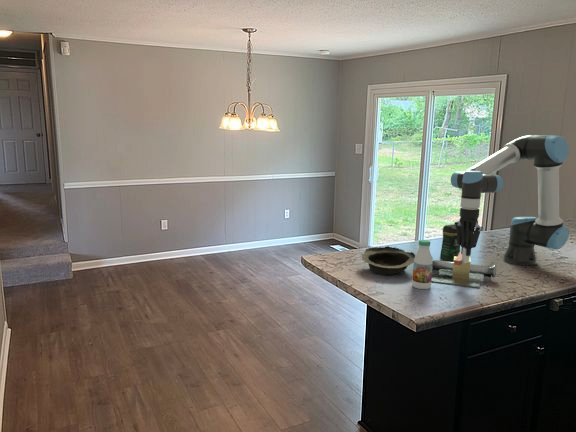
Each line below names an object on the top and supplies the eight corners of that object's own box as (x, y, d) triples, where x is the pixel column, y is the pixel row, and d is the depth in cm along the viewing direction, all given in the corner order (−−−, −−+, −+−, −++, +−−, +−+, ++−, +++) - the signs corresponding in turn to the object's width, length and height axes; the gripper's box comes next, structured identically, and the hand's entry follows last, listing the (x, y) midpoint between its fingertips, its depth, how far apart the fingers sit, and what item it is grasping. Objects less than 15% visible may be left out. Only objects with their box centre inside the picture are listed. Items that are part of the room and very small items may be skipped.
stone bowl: (399, 261, 233) (401, 244, 231) (423, 281, 210) (426, 262, 207) (352, 263, 228) (354, 245, 226) (372, 283, 204) (374, 263, 202)
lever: (458, 257, 212) (459, 251, 211) (467, 258, 210) (467, 252, 210) (452, 265, 198) (453, 259, 198) (461, 267, 197) (462, 261, 196)
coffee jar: (450, 263, 232) (453, 227, 229) (437, 259, 239) (440, 224, 235) (462, 260, 237) (465, 225, 234) (449, 257, 244) (452, 222, 240)
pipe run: (493, 275, 214) (495, 257, 213) (495, 290, 194) (497, 270, 193) (421, 266, 226) (423, 249, 224) (416, 280, 206) (417, 261, 204)
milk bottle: (409, 283, 201) (412, 238, 197) (426, 283, 202) (430, 238, 198) (415, 289, 193) (419, 243, 190) (433, 289, 194) (437, 243, 190)
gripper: (489, 209, 190) (483, 265, 195) (463, 205, 202) (459, 257, 206) (476, 211, 187) (471, 267, 191) (451, 206, 198) (447, 259, 203)
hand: (465, 262), depth 199 cm, fingers closed
